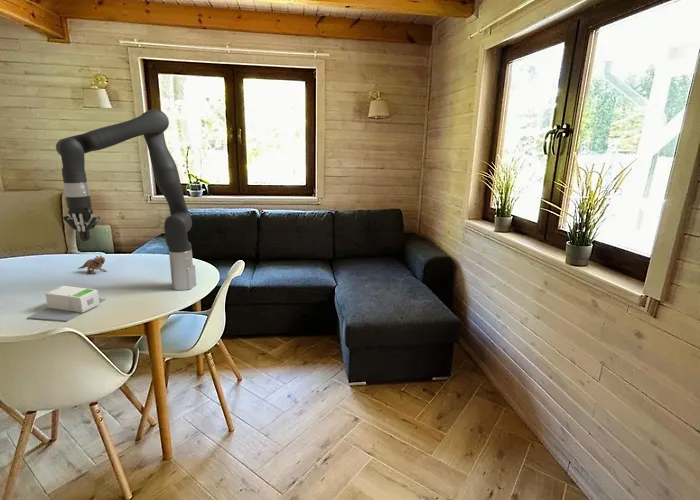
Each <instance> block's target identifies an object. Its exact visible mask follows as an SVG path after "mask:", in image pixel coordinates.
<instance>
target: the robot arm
mask: <svg viewBox="0 0 700 500" xmlns="http://www.w3.org/2000/svg"><path fill="white" fill-rule="evenodd" d="M169 125H170V121H169V117H168V116H167V114H166V113H165V112H163V111H162V110H161V109H153V108H151V109H148V110H147V111H145V112H143V113H142V114H141V115H139V116H137V117H134V118H132V119H129V120H126V121H122V122H118V123H115V124H111V125H107V126H106V125H105V126H103V127H98V128H96V129H93V130H89V131H87V132H84V133H82V134H75V135H73V136H67V137H64V138H61V139H59V140H58V141H57V142H56V145H55V149H56V152H57V153H58V155H60V158H61V163H62V168H61V177H62V181H63V191H64V192H63V193H64V197H65V202H66V208H67V209H68V213H67V214H66V215H65V216H63V217H62V219H63V220H64V221H65V223H67V224H68V226H70V228H71V229H72V230H74V231H78V232H79V238H80V240H81V241H82V242H87V241H90V239H91V236H90V235H91V234H90V231H91V230H93V229H95V227H96V225H97V224H98V222H99V221H100V219H101V216H99V215H95V213H94V211H93V210H92V206H93V205H92V200H91V193H90V187H89V184H88V180H87V172H86V170H85V154H87V153H90V152H95V151H96V152H97V151H101V150H104V149H107V148H109V147H113V146H115V145H118V144H121V143H123V142H126V141H128V140H131V139H134V138H137V137H140V136H143V138H144V140H145V143H146V147H147V149H148V152H149V153H148V154H149V158H150V162H151V166H152V170H153V171H152V172H153V174H154V175H153V176H154V178H155V182H156V185H157V187H158V189H159V191H160V192H161V193H162V196H163V197H164V198H165V200H166V202H167V204H168V208H169V214H170V216H169V215H168V216H167V217H166V219H165V221H164V225H163V231H164V235H165V236H164V237H165V243H166V246H167V248H168V254H169V255H168V256H169V267H170V275H171V276H170V279H171V286H172V287H171V289H173V290H175V291H185V290H186V291H187V290H192V289H193V288H194V287H196V286H197V276H196V275H197V274H196V265H194V263H193V260H194V259H193V248H192V247H193V246H192V243H191V242H190V241H189V238H188V232H189V231H190V230H191V228H192V227H193V221H192V217H191V215H190V211H189V209H188V206H187V203H186V201H185V197H184V191H183V187H182V184H181V183H182V182H181V178H180V174H179V170H178V166H177V164H176V162H175V160H174V158H173V156H172V154H171V152H170V150H169V149H168V146H167V143H166V139H165V134H164V132H166V130H167V129H168V128H169Z"/></svg>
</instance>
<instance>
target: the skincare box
mask: <svg viewBox="0 0 700 500" xmlns="http://www.w3.org/2000/svg"><path fill="white" fill-rule="evenodd" d="M45 298H46V299H45V300H46V303H47V308H54V309H61V310H68V311H75V312H82V313H81V314H83V313H85V312H87V311H88V310H91V309H93V308H95V307H97V306H99V305H100V304H101V303H99V298H100V297H99V292H98V289H94V288H85V287H84V288H83V287H77V286H68V285H62V286H59V287H57V288H54V289H52V290H49V291H47V292H45Z"/></svg>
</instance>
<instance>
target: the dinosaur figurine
mask: <svg viewBox="0 0 700 500" xmlns="http://www.w3.org/2000/svg"><path fill="white" fill-rule="evenodd" d="M105 262H106V259H105V257H104V256H102V255H100V256H98V255H95V257H93V259H88V260H86V261H85V262H84V264H83V265H82V266H78V268H77V270H79V269H80V270H81V269H85V268H86V269H87V270H86V272H87V273H86V275H94V276H95V275H97V273H96V272H95V271H98V270H99V271H102V272H105V273H107V272H108V270H106V269H103V268H102V267H103V264H104V263H105ZM91 272H92V273H91Z"/></svg>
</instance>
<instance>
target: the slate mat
mask: <svg viewBox="0 0 700 500" xmlns="http://www.w3.org/2000/svg"><path fill="white" fill-rule="evenodd" d="M104 301H106V298H100V297H99V303H100V304H102V303H103V302H104ZM81 314H83V313H82V312H75V311H68V310H61V309H54V308H48V307H45V308H43V309H41V310H40V311H37V312H35V313H34V314H32V315H28V316H27V317H26V319H27V320H38V321H40V320H41V321H54V322H64V323H65V322H69V321H71V320H73V319H74V318H77V316H80V315H81Z"/></svg>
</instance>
